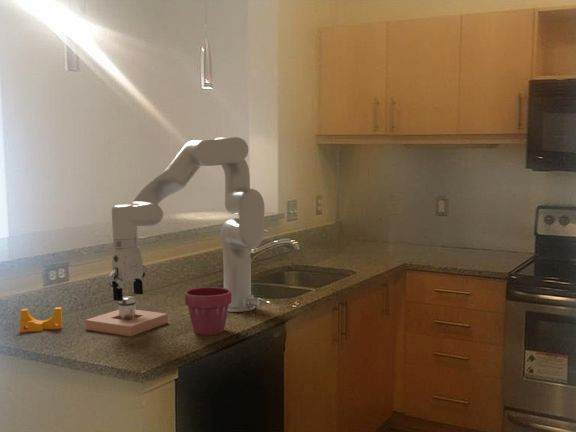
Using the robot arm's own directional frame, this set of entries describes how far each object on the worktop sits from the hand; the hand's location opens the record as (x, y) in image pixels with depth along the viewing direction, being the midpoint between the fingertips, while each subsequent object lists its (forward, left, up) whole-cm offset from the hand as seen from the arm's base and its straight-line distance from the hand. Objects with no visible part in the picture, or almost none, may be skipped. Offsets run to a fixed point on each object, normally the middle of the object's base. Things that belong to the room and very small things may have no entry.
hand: (128, 297), depth 223 cm
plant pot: (-27, -5, -10) cm, 29 cm away
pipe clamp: (+22, +16, -10) cm, 28 cm away
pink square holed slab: (0, +1, -9) cm, 9 cm away
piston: (0, 0, -9) cm, 9 cm away
